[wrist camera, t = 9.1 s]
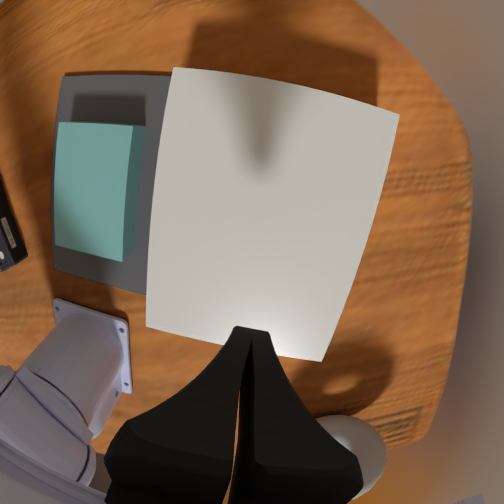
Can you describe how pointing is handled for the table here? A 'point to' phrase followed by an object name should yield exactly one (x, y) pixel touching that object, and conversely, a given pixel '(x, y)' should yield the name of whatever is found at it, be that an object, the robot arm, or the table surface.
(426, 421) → the table surface
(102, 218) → the teal rectangular block
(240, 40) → the table surface
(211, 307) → the white flat block
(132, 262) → the mat
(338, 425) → the donut
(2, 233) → the disk drive
